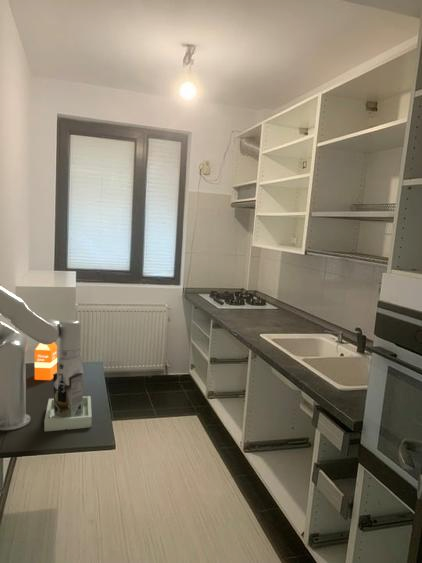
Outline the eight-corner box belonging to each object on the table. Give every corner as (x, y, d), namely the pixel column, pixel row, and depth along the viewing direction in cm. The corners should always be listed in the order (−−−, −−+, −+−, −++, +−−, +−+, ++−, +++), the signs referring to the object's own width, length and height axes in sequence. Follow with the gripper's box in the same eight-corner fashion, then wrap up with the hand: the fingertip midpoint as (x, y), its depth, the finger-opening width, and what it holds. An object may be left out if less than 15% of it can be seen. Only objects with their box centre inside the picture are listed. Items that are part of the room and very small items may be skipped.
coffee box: (53, 415, 155) (52, 373, 153) (66, 409, 160) (65, 369, 159) (71, 419, 151) (70, 377, 149) (83, 413, 156) (82, 372, 155)
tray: (91, 427, 149) (91, 416, 148) (44, 431, 144) (44, 420, 143) (90, 405, 168) (90, 396, 167) (48, 408, 163) (48, 398, 162)
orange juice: (57, 374, 203) (57, 334, 201) (50, 380, 194) (51, 339, 192) (41, 373, 203) (41, 334, 201) (34, 379, 194) (34, 338, 192)
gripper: (63, 360, 144) (62, 407, 145) (91, 348, 160) (91, 391, 162) (45, 357, 146) (45, 404, 148) (75, 346, 162) (75, 388, 164)
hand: (69, 397), depth 155 cm, fingers open, 8 cm apart
